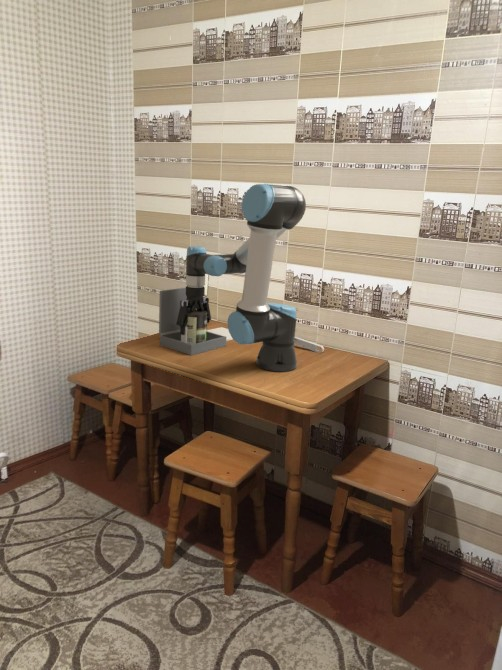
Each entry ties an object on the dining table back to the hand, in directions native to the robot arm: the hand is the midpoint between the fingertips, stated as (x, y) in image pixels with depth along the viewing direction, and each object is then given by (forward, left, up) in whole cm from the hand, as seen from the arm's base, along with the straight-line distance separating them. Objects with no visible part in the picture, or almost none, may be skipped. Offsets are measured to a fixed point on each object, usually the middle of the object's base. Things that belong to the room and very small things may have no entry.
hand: (193, 340), depth 216 cm
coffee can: (0, 0, -3) cm, 3 cm away
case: (0, 0, -2) cm, 2 cm away
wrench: (-26, -32, -3) cm, 41 cm away
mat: (+4, -22, -2) cm, 23 cm away
